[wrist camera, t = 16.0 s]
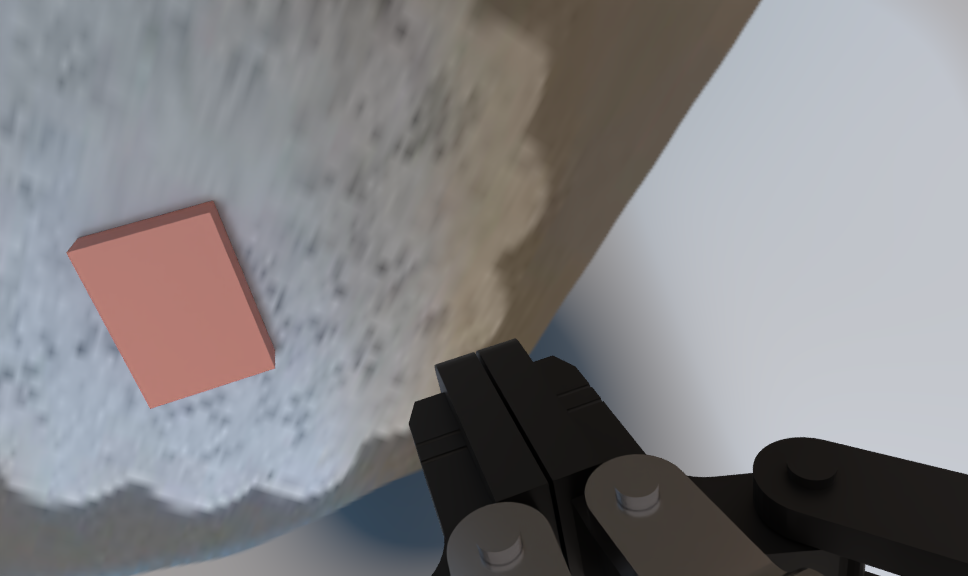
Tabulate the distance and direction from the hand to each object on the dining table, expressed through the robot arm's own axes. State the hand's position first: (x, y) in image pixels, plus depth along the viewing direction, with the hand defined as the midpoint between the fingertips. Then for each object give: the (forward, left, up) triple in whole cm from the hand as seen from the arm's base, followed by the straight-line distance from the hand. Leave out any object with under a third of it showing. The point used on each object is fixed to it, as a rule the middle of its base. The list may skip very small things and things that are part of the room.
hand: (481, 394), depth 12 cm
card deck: (+6, -7, -24) cm, 26 cm away
